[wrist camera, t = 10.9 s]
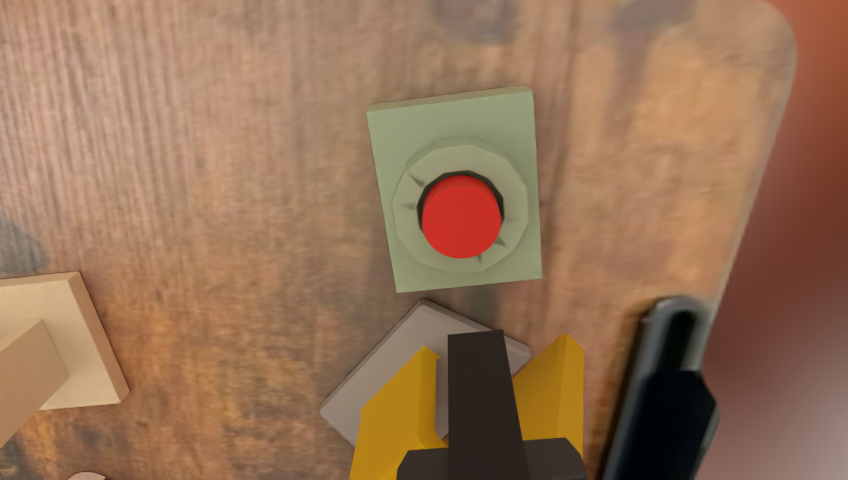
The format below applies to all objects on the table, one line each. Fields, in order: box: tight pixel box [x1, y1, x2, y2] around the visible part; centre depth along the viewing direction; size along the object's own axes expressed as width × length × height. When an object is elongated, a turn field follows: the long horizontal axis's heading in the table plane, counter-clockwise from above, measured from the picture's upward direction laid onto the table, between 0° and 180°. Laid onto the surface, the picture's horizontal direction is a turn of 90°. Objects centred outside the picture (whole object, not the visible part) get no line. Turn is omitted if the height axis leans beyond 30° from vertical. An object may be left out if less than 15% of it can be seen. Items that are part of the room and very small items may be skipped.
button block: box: [366, 85, 543, 293], centre depth 28 cm, size 10×8×4 cm
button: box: [422, 175, 501, 259], centre depth 26 cm, size 4×4×2 cm
